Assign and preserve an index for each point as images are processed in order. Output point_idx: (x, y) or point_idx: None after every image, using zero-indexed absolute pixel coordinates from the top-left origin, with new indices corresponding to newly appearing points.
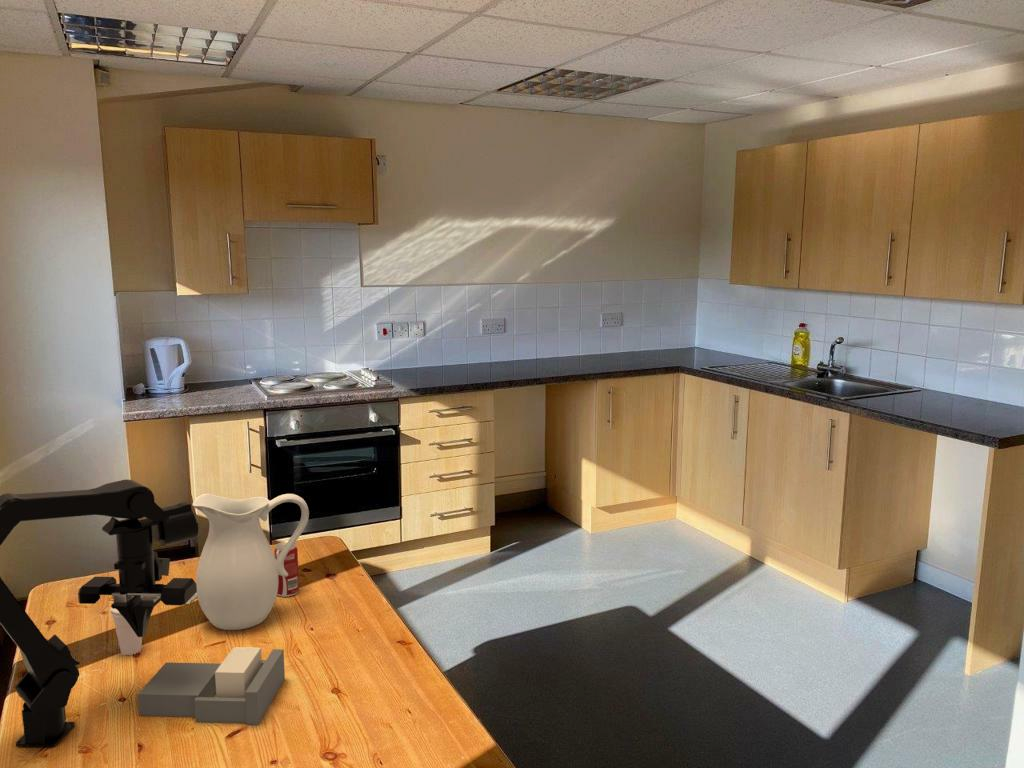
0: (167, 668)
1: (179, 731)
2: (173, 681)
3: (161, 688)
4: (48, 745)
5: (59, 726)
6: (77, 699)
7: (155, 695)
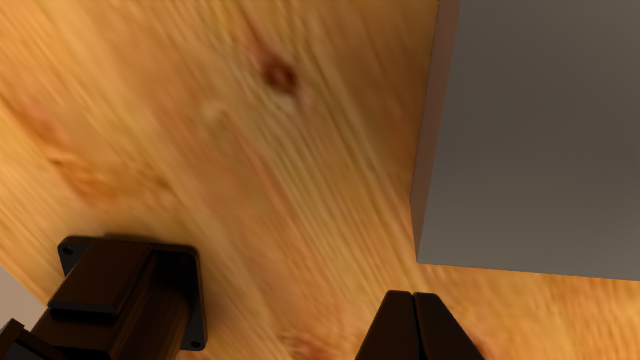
0: (507, 10)
1: (595, 294)
2: (577, 165)
3: (523, 225)
4: (190, 349)
5: (182, 337)
6: (74, 73)
7: (504, 266)
